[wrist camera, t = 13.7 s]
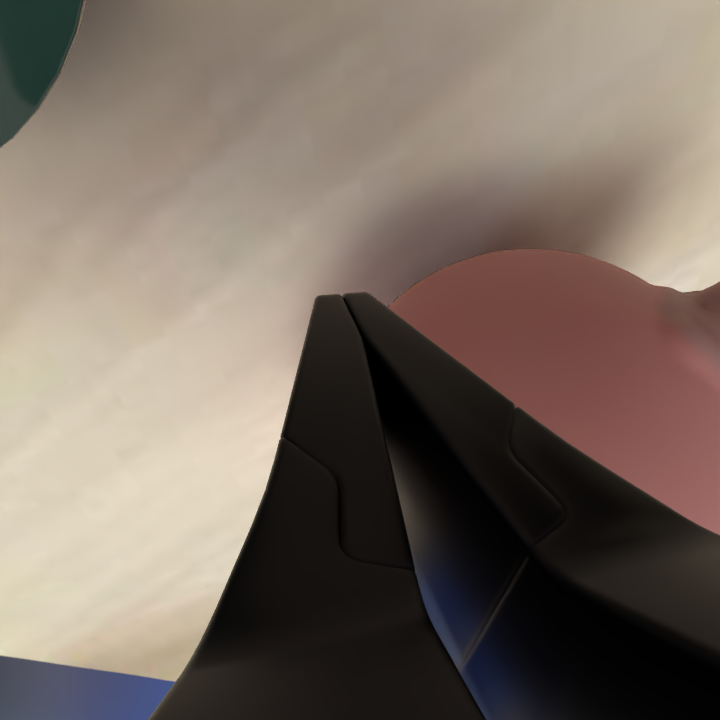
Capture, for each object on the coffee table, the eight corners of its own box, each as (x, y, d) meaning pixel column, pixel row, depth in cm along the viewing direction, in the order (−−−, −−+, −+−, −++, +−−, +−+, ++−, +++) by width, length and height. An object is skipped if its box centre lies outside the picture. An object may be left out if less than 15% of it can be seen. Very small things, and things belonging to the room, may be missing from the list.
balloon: (709, 260, 29) (1019, 505, 18) (415, 453, 35) (518, 724, 24) (629, 6, 19) (1204, 214, 8) (238, 335, 25) (280, 705, 14)
